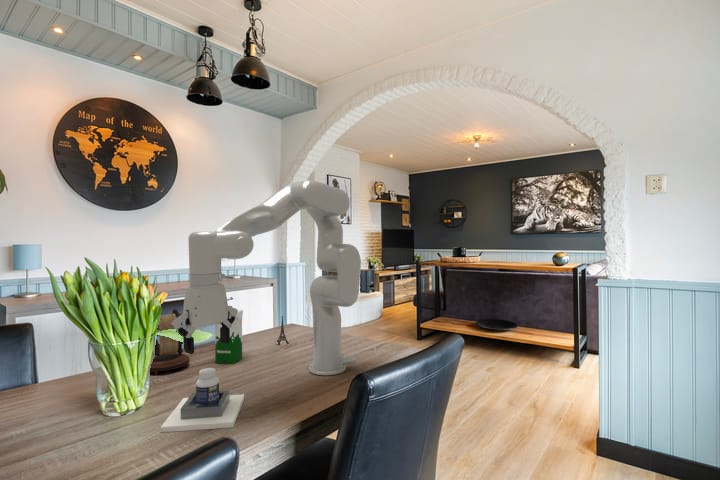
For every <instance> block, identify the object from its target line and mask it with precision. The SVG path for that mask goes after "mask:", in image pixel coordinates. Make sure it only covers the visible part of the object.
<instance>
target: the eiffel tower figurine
mask: <svg viewBox="0 0 720 480" xmlns="http://www.w3.org/2000/svg"><path fill="white" fill-rule="evenodd" d="M284 330H285V329H284V315H281V325H280V334H279V336H278V338H277V342H278V344H277V345H280V342H281V341H286V343H287V344H290V342H288V341H287V340H288V339H287V336H286V334H285V331H284ZM277 345H276V346H277Z"/></svg>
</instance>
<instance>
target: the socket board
mask: <svg viewBox="0 0 720 480" xmlns="http://www.w3.org/2000/svg"><path fill="white" fill-rule="evenodd" d="M188 398H189V397H183V398H182V399H181V401H180V402H179V403H178V404H177V405H176V406H175V408H174V410H173V411H172V412H171V413H170V415H169V416H168V417H167V418H166V419H165V420H164V422H163V423H162V425H161V426H160V433H170V432H171V433H173V432H174V433H175V432H185V431H200V430H202V431H203V430H211V429H213V430H214V429H225V428H226V429H227V428H228V429H229V428H234V426H235V423H236V421H237V418H238V416H239V414H240V411H241V409H242V406H243V403H244V401H245V394H243V393H242V394H230V400H229V402H228V404H227V407H226V409H225V411H224V413H223V415H222V417H208V418H194V419H181V408H182V406H183V405H184V404H185V402H186V401H187V400H188ZM195 406H196V405H195Z"/></svg>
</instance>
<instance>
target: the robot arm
mask: <svg viewBox="0 0 720 480" xmlns="http://www.w3.org/2000/svg"><path fill="white" fill-rule="evenodd" d="M350 201H351V200H350V197H349V196H348V194H347V192H346V191H345V190H343V189H340V188H338V187H335V186H332V185H329V184H327V183H324V182H319V181H316V180H311V179H308V180H301V181H295V182H290V183H288V184H286V185H284V186H283V187H282V188H280V189H279V190H278V191H276V192H275V193H273V194H272V195H271V196H269V197H268V198H266V199H265V200H264V201H263V202H261V203H260V204H258V205H256V206H254V207H252V208H250V209H248V210H247V211H245V212H243V213H240V214H239V215H237V216H235V217H234V218H232V219H230V220H228V221H227V222H225V223H224V224H223V225H221V226H219V228H217V229H216V230H215V231H194V232H191V233H190V234H189V236H188V263H189V264H188V266H189V269H188V270H189V271H188V272H189V286H187V287H186V288H185V291H184V300H183V311H182V313H181V314H182V315H180V316H179V317H177V318H176V319H175V320H173V321H172V325H173V326H174V328H175V329H176V332H178V333H179V334H180V335H181V336H182V339H183V351H184V352H185V353H187V354H189V355H193V354H194V353H195V338H194V336H193V334H194V333H195V332H196V330H197V329H200V328H205V327H209V326H215V324H219V323H220V324H221V325H222V327H220V342H222V343H225V344H229V339H230V328H231V327H232V323H233V322H234V320H235V317H236V314H237V312H238V310H239V309H237V308H236V307H233V306H232V307H230V306H231V305H229V304H228V297H227V291H226V288H225V287H226V286H225V284H224V283H223V280H225V279H226V274H225V273H223V272H222V259H232V260H239V259H240V260H241V259H244V258H245V257H247V256H249V255H250V254H251V253H252V251H253V249H254V245H255V244H254V240H253V238H252V237H256V236H258V235H261V234H265V233H268V232H271V231H273V230H276V229H278V228H280V227H281V226H282V225H283V224H285V223H286V222H287V221H288V220H290V218H292V217H293V216H294V215H296V214H297V213H299V212H300V211H302V210H305V211H306V212H307V214H308V215H309V216H310V217H311V218H312V219H313V221H314V223H315V224H316V226H317V231H318V233H317V247H316V266H317V267H318V269H320V270H321V271H323V272H329V273H337V276H336V275H321V276H317V277H316V278H314V279H313V280H312V282H311V284H310V286H309V287H310V288H309V296H310V300H311V306H312V345H313V346H312V347H313V348H312V349H313V350H312V353H313V354H312V355H313V356H312V358H313V361H312V363H310V364H309V365H308V371H309V372H310V373H312V374H313V375H318V376H333V375H338V374H341V373H344V372H345V371H346V369H347V364H350V365H352V364H356V357H352V356H351V355H349V356H344V355H343V354H342V314H341V310H340V308H339V307H341V308H342V307H343V308H349V307H352V306H353V305H354V304H355V303H356V302H357V300H358V297H359V292H360V283H361V281H360V279H361V269H362V268H361V267H362V264H361V263H362V261H361V259H362V258H361V254H360V252H359V250H358V248H357V247H356V246H354V245H353V244H350V243H343V241H344V238H343V237H344V231H343V230H344V228H343V225H342V223H341V220H340V218H339V216H343V215H345V214H346V213H347V212H348V211H349V209H350V205H351V202H350ZM228 311H229V312H230V316H229V317H228ZM181 323H182V324H183V325H184V326H185V327H183V325H182V326H181ZM182 327H183V328H182ZM179 334H178V335H179Z"/></svg>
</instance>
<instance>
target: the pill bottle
mask: <svg viewBox="0 0 720 480" xmlns="http://www.w3.org/2000/svg"><path fill="white" fill-rule="evenodd" d="M198 371H199V372H198V379H197V381H196V383H195V393H196V406H201V405H217V404H218V403H219V391H220V380H219V378H218V377H217V369H216V368H213V367H207V368H206V367H205V368H202V369H200V370H198Z"/></svg>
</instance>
